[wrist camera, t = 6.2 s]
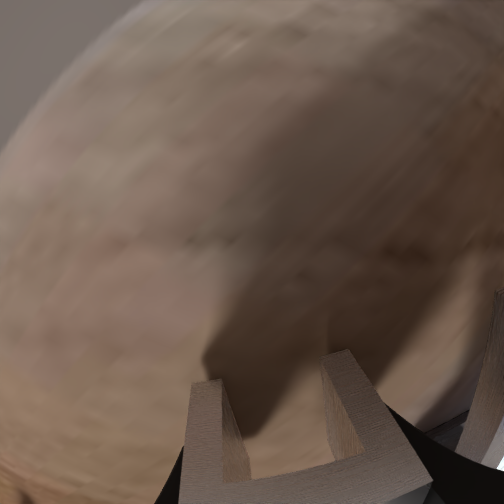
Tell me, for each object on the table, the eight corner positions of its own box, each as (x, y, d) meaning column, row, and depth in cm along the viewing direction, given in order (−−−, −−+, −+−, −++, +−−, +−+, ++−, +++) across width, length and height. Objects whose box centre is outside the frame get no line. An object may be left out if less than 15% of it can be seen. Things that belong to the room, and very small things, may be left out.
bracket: (348, 348, 10) (433, 480, 4) (351, 433, 11) (401, 543, 5) (191, 383, 10) (175, 539, 4) (224, 461, 11) (230, 582, 5)
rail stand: (499, 236, 10) (612, 280, 4) (448, 468, 14) (485, 526, 8) (371, 273, 10) (499, 376, 4) (363, 506, 14) (390, 575, 8)
